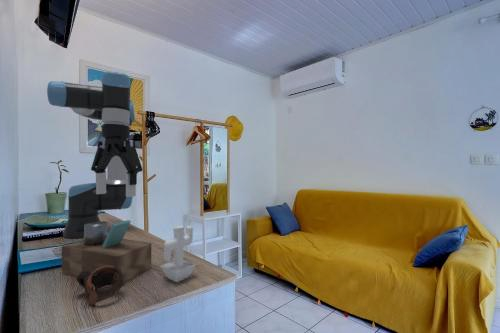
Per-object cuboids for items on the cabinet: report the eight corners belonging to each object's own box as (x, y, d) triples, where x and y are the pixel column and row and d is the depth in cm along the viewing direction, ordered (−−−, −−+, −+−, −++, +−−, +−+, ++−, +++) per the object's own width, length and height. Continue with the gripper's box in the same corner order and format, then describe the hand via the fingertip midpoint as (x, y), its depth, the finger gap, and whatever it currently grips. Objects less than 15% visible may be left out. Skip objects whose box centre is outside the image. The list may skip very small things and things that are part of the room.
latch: (120, 242, 81) (118, 240, 82) (130, 221, 80) (128, 219, 80) (104, 248, 76) (102, 246, 76) (114, 226, 74) (112, 224, 75)
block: (100, 258, 89) (100, 235, 89) (151, 268, 82) (151, 243, 82) (61, 273, 77) (61, 246, 77) (117, 286, 69) (117, 256, 69)
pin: (97, 259, 85) (97, 220, 85) (112, 262, 83) (112, 222, 83) (78, 267, 79) (79, 225, 79) (93, 270, 77) (94, 227, 77)
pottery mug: (130, 286, 70) (132, 266, 67) (111, 320, 62) (112, 299, 58) (87, 275, 70) (86, 254, 66) (61, 308, 61) (59, 286, 58)
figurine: (156, 279, 74) (157, 227, 73) (183, 269, 81) (184, 221, 81) (172, 287, 69) (172, 231, 69) (198, 275, 77) (199, 225, 77)
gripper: (155, 124, 75) (155, 196, 75) (101, 129, 87) (101, 192, 87) (134, 119, 69) (133, 198, 69) (78, 125, 80) (77, 193, 80)
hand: (115, 195), depth 78 cm, fingers open, 13 cm apart
